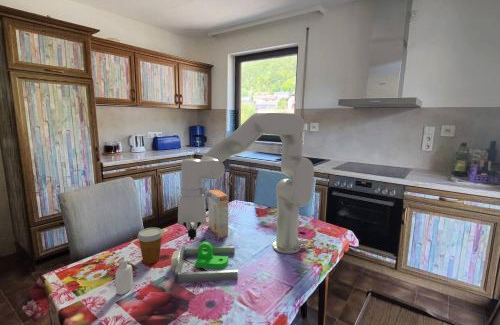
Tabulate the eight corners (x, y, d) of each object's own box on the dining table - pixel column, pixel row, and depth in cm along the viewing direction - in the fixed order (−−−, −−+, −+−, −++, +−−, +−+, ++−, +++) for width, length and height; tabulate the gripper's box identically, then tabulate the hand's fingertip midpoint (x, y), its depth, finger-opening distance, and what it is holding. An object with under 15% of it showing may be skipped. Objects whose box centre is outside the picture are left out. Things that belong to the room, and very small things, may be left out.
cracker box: (228, 236, 130) (229, 195, 127) (217, 238, 127) (217, 196, 124) (218, 226, 142) (218, 188, 139) (208, 228, 139) (207, 189, 136)
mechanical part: (195, 267, 102) (195, 248, 101) (199, 259, 108) (198, 241, 106) (226, 268, 101) (226, 249, 100) (228, 260, 107) (228, 242, 106)
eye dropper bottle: (113, 290, 87) (111, 256, 85) (131, 283, 91) (129, 251, 89) (118, 296, 84) (115, 262, 82) (136, 289, 88) (134, 256, 86)
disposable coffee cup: (157, 251, 113) (156, 225, 112) (167, 260, 107) (166, 232, 105) (134, 259, 107) (133, 231, 105) (144, 268, 100) (143, 239, 98)
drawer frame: (234, 252, 114) (234, 241, 113) (237, 279, 94) (237, 266, 94) (176, 255, 111) (176, 243, 110) (167, 283, 91) (167, 269, 91)
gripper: (212, 189, 102) (212, 234, 105) (173, 189, 100) (173, 235, 103) (212, 194, 95) (211, 242, 97) (169, 194, 93) (170, 243, 95)
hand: (192, 238), depth 100 cm, fingers closed
